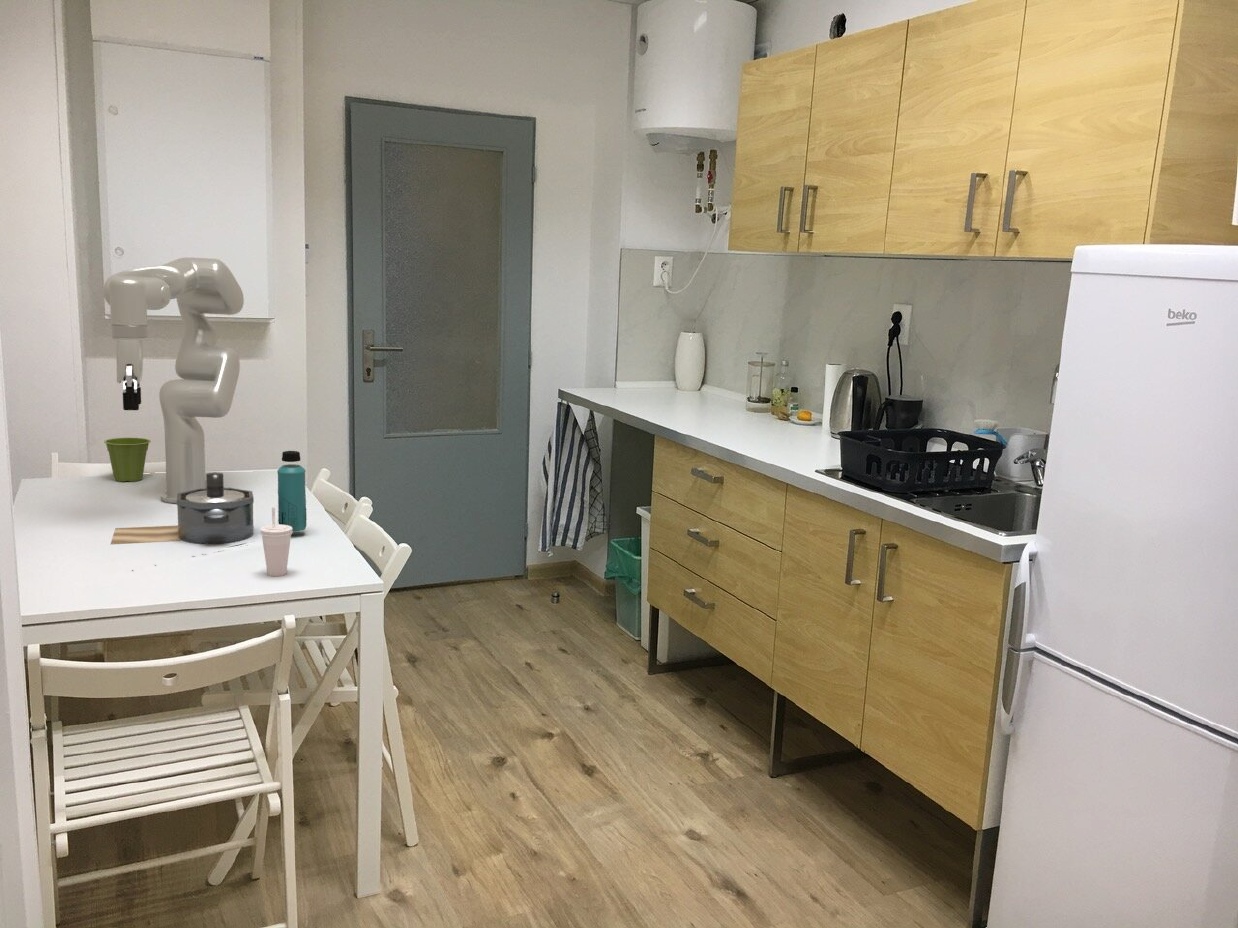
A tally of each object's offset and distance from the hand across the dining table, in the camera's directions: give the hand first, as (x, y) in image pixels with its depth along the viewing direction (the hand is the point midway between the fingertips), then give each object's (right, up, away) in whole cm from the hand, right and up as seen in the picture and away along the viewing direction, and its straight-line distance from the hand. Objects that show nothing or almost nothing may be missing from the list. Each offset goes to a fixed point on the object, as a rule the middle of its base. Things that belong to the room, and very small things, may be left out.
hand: (132, 407), depth 236 cm
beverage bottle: (+36, -30, +4) cm, 47 cm away
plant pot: (-26, -18, +52) cm, 61 cm away
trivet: (+6, -30, -5) cm, 31 cm away
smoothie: (+42, -36, -26) cm, 61 cm away
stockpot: (+21, -30, -3) cm, 37 cm away
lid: (+21, -21, -4) cm, 30 cm away
